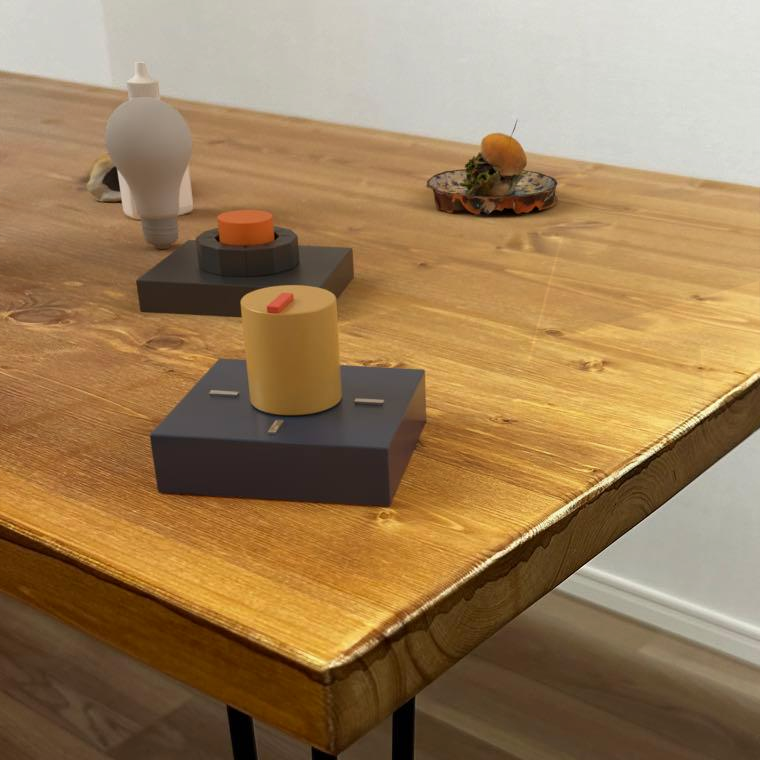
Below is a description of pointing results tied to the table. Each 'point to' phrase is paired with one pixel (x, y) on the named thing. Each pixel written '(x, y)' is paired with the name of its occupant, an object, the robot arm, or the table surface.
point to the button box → (238, 273)
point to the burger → (494, 180)
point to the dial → (292, 349)
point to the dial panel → (292, 440)
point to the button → (245, 227)
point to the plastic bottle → (136, 88)
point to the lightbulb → (151, 162)
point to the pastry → (104, 180)
